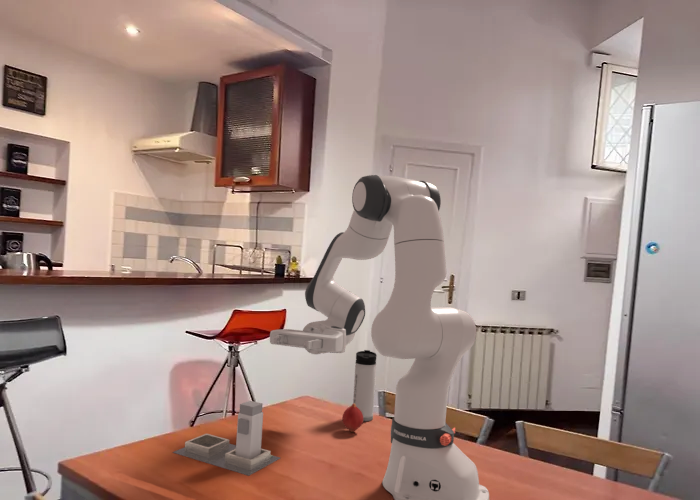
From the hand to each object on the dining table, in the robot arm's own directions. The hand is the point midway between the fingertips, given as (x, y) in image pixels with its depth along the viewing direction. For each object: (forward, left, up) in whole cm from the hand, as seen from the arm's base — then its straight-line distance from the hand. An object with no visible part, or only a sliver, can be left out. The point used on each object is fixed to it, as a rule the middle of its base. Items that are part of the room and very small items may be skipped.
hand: (290, 343), depth 134 cm
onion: (-9, -20, -26) cm, 35 cm away
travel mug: (-6, -33, -26) cm, 43 cm away
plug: (0, +15, -25) cm, 29 cm away
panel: (+6, +15, -26) cm, 30 cm away
